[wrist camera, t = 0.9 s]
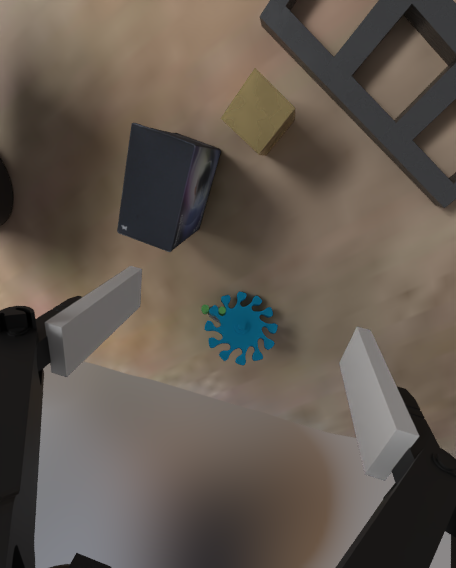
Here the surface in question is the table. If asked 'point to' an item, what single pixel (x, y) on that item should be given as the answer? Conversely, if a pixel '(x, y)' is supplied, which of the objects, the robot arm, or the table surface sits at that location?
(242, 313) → the gear
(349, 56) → the grey flat frame
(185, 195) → the small box
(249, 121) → the olive yellow block
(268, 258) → the table surface
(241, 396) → the table surface
